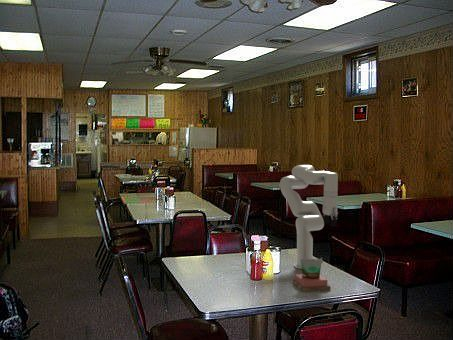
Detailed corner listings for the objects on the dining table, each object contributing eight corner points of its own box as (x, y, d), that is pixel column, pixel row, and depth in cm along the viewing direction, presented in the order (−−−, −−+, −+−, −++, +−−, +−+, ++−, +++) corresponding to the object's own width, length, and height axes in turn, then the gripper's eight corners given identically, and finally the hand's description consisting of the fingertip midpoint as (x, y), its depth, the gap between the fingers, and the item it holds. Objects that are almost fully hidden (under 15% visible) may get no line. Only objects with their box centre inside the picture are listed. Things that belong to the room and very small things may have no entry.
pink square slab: (295, 279, 264) (295, 274, 263) (317, 278, 266) (317, 273, 266) (303, 287, 251) (303, 281, 251) (327, 285, 254) (327, 279, 253)
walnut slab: (292, 284, 264) (293, 279, 264) (318, 283, 268) (318, 277, 267) (303, 293, 250) (303, 287, 250) (330, 291, 253) (330, 286, 253)
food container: (304, 280, 252) (305, 261, 252) (299, 276, 258) (300, 258, 257) (326, 279, 255) (326, 260, 255) (321, 275, 261) (321, 257, 261)
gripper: (318, 192, 280) (317, 222, 281) (330, 196, 263) (330, 227, 264) (330, 192, 281) (329, 222, 282) (343, 196, 264) (343, 227, 266)
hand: (330, 224), depth 273 cm, fingers open, 9 cm apart
